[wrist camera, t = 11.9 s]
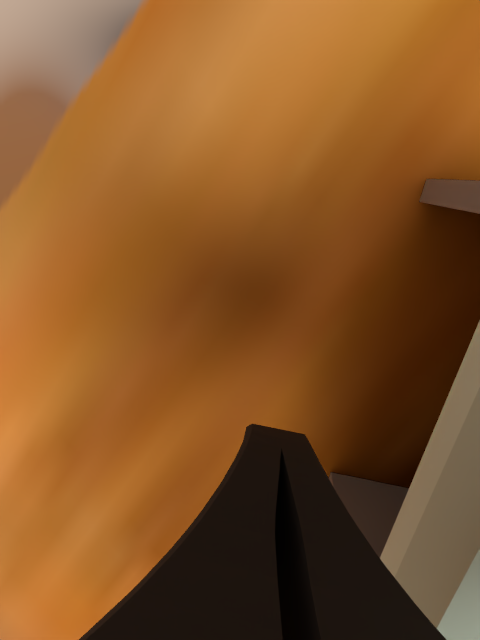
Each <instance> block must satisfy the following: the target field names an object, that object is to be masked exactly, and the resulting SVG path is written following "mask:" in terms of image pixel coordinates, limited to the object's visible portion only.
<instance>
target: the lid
mask: <svg viewBox="0 0 480 640" xmlns="http://www.w3.org/2000/svg"><path fill="white" fill-rule="evenodd" d="M380 559H381V561H382V562H383V563H384V565H385V566H386V567H387V569H388V570H389V571H390V572H391V574H392V575H393V576H394V577H395V579H396V580H397V581H398V582H399V584H400V585H401V586H402V588H403V589H404V590H405V591H406V593H407V594H408V595H409V596H410V598H411V599H412V600H413V601H414V603H415V604H416V605H417V606H418V607H419V609H420V610H421V611H422V612H423V613H424V615H425V616H426V617H427V618H428V619H429V620H430V622H431V623H432V624H433V625H434V626H435V627H436V628H437V630H438V631H439V632H440V633H441V634H442V635H443V636H444V637H445V639H446V640H480V321H479V323H478V325H477V328H476V330H475V333H474V335H473V337H472V340H471V342H470V344H469V347H468V349H467V352H466V354H465V356H464V359H463V361H462V364H461V366H460V368H459V371H458V373H457V375H456V378H455V380H454V383H453V385H452V387H451V390H450V392H449V395H448V397H447V399H446V402H445V404H444V406H443V409H442V411H441V414H440V416H439V418H438V421H437V423H436V425H435V428H434V430H433V433H432V435H431V437H430V440H429V442H428V445H427V447H426V449H425V452H424V454H423V456H422V459H421V461H420V464H419V466H418V468H417V471H416V473H415V476H414V478H413V480H412V483H411V485H410V487H409V490H408V492H407V495H406V497H405V499H404V502H403V504H402V507H401V509H400V511H399V514H398V516H397V518H396V521H395V523H394V526H393V528H392V530H391V533H390V535H389V537H388V540H387V542H386V545H385V547H384V549H383V552H382V554H381V557H380Z"/></svg>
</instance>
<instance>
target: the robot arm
mask: <svg viewBox="0 0 480 640" xmlns="http://www.w3.org/2000/svg"><path fill="white" fill-rule="evenodd" d="M79 640H446V639H445V637H444V636H443V635H442V634H441V633H440V632H439V631H438V630H437V628H436V627H435V626H434V625H433V624H432V623H431V622H430V620H429V619H428V618H427V617H426V616H425V615H424V613H423V612H422V611H421V610H420V609H419V607H418V606H417V605H416V604H415V603H414V601H413V600H412V599H411V598H410V596H409V595H408V594H407V593H406V591H405V590H404V589H403V588H402V586H401V585H400V584H399V582H398V581H397V580H396V579H395V577H394V576H393V575H392V574H391V572H390V571H389V570H388V569H387V567H386V566H385V565H384V563H383V562H382V561H381V559H380V558H379V556H378V555H377V554H376V552H375V551H374V549H373V548H372V547H371V545H370V544H369V542H368V541H367V539H366V538H365V536H364V535H363V533H362V532H361V530H360V529H359V527H358V526H357V524H356V523H355V521H354V520H353V518H352V517H351V515H350V513H349V512H348V510H347V508H346V507H345V505H344V504H343V502H342V500H341V499H340V497H339V495H338V494H337V492H336V490H335V489H334V487H333V485H332V483H331V482H330V480H329V478H328V476H327V475H326V473H325V471H324V469H323V467H322V466H321V464H320V462H319V460H318V458H317V456H316V454H315V452H314V450H313V449H312V447H311V445H310V443H309V441H308V439H307V438H306V436H305V434H300V433H295V432H290V431H285V430H280V429H276V428H271V427H266V426H261V425H256V424H251V425H249V426H247V427H246V432H245V436H244V440H243V443H242V445H241V447H240V450H239V452H238V454H237V456H236V458H235V460H234V462H233V463H232V465H231V467H230V468H229V470H228V472H227V474H226V475H225V477H224V479H223V480H222V482H221V484H220V485H219V487H218V488H217V490H216V491H215V492H214V494H213V495H212V497H211V498H210V500H209V501H208V503H207V504H206V505H205V507H204V508H203V510H202V511H201V512H200V514H199V515H198V516H197V518H196V519H195V520H194V522H193V523H192V524H191V525H190V527H189V528H188V529H187V530H186V532H185V533H184V534H183V535H182V536H181V538H180V539H179V540H178V541H177V542H176V543H175V545H174V546H173V547H172V548H171V549H170V550H169V551H168V553H167V554H166V555H165V556H164V557H163V558H162V559H161V560H160V561H159V562H158V563H157V565H156V566H155V567H154V568H153V569H152V570H151V571H150V572H149V573H148V574H147V575H146V576H145V577H144V578H143V579H142V580H141V581H140V583H139V584H138V585H137V586H136V587H135V588H134V589H133V590H132V591H131V592H130V593H129V594H128V595H126V596H125V597H124V598H123V599H122V600H121V601H120V602H119V603H118V604H117V605H116V606H115V607H114V608H112V609H111V610H110V611H109V612H108V613H107V614H106V615H105V616H104V617H103V618H102V619H101V620H100V621H98V622H97V623H96V624H95V625H94V626H93V627H92V628H91V629H90V630H89V631H88V632H87V633H86V634H85V635H83V636H82V637H81V638H80V639H79Z"/></svg>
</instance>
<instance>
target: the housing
mask: <svg viewBox="0 0 480 640" xmlns="http://www.w3.org/2000/svg"><path fill="white" fill-rule="evenodd" d="M419 202H422V203H427V204H432V205H438V206H443V207H448V208H453V209H458V210H463V211H468V212H473V213H478V214H480V181H477V180H447V179H426V182H425V185H424V188H423V192H422V195H421V198H420V201H419ZM329 480H330V482H331V483H332V485H333V487H334V489H335V490H336V492H337V494H338V495H339V497H340V499H341V500H342V502H343V504H344V505H345V507H346V508H347V510H348V512H349V513H350V515H351V517H352V518H353V520H354V521H355V523H356V524H357V526H358V527H359V529H360V530H361V532H362V533H363V535H364V536H365V538H366V539H367V541H368V542H369V544H370V545H371V547H372V548H373V549H374V551H375V552H376V554H377V555H378V556H379V558H380V557H381V554H382V552H383V549H384V547H385V545H386V542H387V540H388V537H389V535H390V533H391V530H392V528H393V526H394V523H395V521H396V518H397V516H398V514H399V511H400V509H401V507H402V504H403V502H404V499H405V497H406V495H407V492H408V490H409V488H404V487H400V486H395V485H390V484H385V483H380V482H376V481H371V480H366V479H361V478H356V477H351V476H347V475H342V474H337V473H332V472H331V473H330V476H329Z"/></svg>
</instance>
